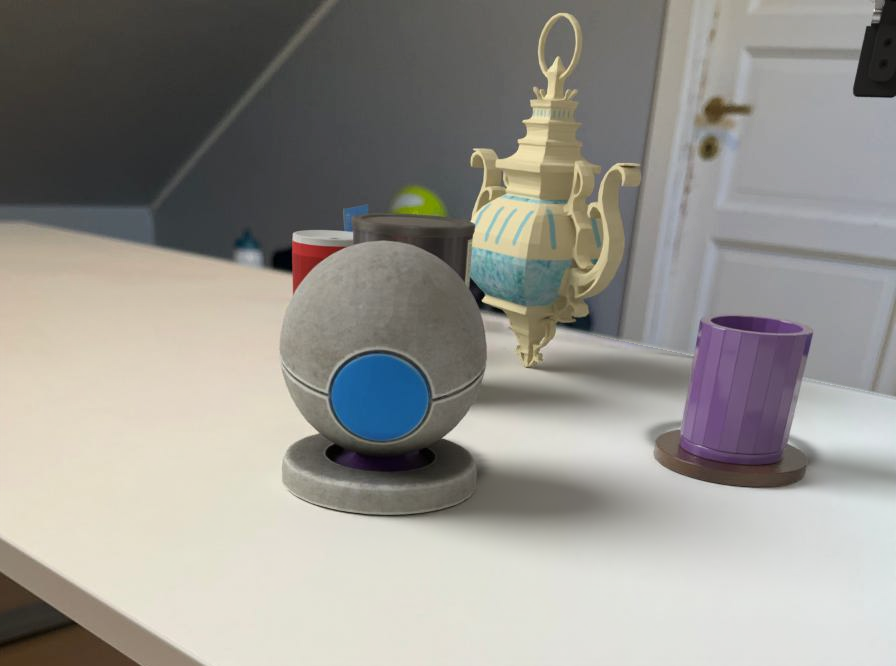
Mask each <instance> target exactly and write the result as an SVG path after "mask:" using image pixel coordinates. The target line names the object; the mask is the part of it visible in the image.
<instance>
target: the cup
mask: <svg viewBox="0 0 896 666" xmlns="http://www.w3.org/2000/svg"><path fill="white" fill-rule="evenodd" d="M697 330H698V331H697V336H696V342H695V346H694V347H695V348H694V353H693V359H692V364H691V369H690V375H689V380H688V385H687V392H686V396H685V397H686V398H685V401H684V402H685V403H684V407H683V414H682V419H681V424H680V429H681V430H680V438H679V445H680V446H681V447H682V448H683V449H684V450H685V451H687V452H689V453H691V454H694V455H696V456H699V457H702V458H705V459H709V460H713V461H718V462H723V463H730V464H739V465H765V464H771V463H776V462H778V461H780V460H782V459H783V458H784V455H785V451H786V447H787V444H788V442H789V437H790V434H791V431H792V425H793V421H794V417H795V412H796V409H797V403H798V399H799V396H800V391H801V387H802V382H803V378H804V374H805V370H806V365H807V361H808V358H809V353H810V349H811V344H812V340H813V337H814V331H815V329H814V328H812V327H811V326H809V325H807V324H804V323H802V322H797V321H794V320H789V319H783V318H778V317H771V316H766V315H765V316H763V315H755V314H753V315H752V314H741V313H720V314H719V313H718V314H717V313H716V314H709V315H704V316H702V317H701V318H700V320H699V324H698V329H697Z"/></svg>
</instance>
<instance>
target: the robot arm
mask: <svg viewBox="0 0 896 666" xmlns="http://www.w3.org/2000/svg"><path fill="white" fill-rule="evenodd" d="M869 1H870V2H871V3H872V4H874V8H873V12H872V16H871V22H870V25H866V26H865V31H864V34H863V35H864V36H863V40H862V45H861V49H860V55H859V59H858V63H857V68H856V73H855V77H854V82H853V86H852V95H853V96H854V97H855V98H877V99H878V98H881V99H882V98H884V99H885V98H886V99H893V98H895V97H896V0H869Z"/></svg>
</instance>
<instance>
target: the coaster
mask: <svg viewBox="0 0 896 666" xmlns="http://www.w3.org/2000/svg"><path fill="white" fill-rule="evenodd" d="M680 430H681V428H679V429H674V430H670V431H669V430H668V431H667V432H664V433H661V434H659V436H657V437H656V439H655V443H654V448H653V456H654V459H655V461H656V462H658V463H659V464H660V465H662V466H664V467H665V468H667V469H669V470H671V471H673V472H675V473H678V474H680V475H682V476H683V475H684V476H685V477H689V478H692V479H697V480H701V481H705V482H710V483H715V484H721V485H728V486H737V487H749V488H771V487H772V488H773V487H782V486H786V485H787V486H788V485H792V484H795V483H797V482H799V481H801V480H803V478H804V477H805V476H806V473H807V470H808V465H809V458H808V456H807V455H806V453H805V452H803V451H802V450H800V449H799V448H797V447H795V446H794V445H791V444H789V443H787V447H786V451H785V455H784V458H783V459H782V460H780V461H778V462H776V463H771V464H765V465H739V464H730V463H723V462H718V461H713V460H709V459H705V458H702V457H699V456H696V455H694V454H691V453H689V452H687V451H685V450H684V449H683V448H682V447H681V446H680V445H679V438H680Z"/></svg>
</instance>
